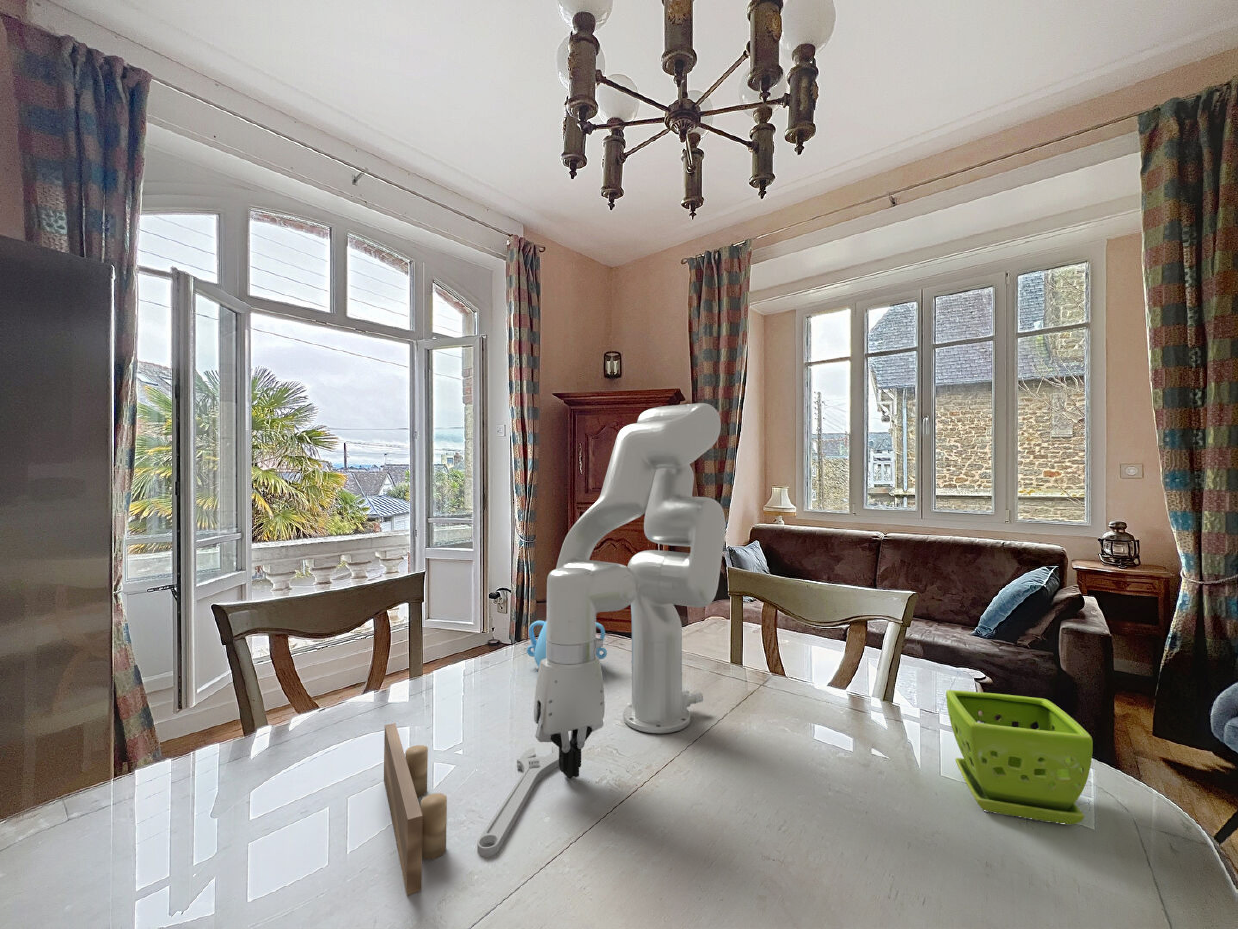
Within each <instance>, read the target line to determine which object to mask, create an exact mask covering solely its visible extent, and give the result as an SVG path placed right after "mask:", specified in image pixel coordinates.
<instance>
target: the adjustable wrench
mask: <svg viewBox="0 0 1238 929" xmlns="http://www.w3.org/2000/svg"><path fill="white" fill-rule="evenodd" d="M516 767H517V770H521V772H522V774H521V776H520V777H519V779H518V780H517V782H516V783H515V785H514V786H513V788H511V791H510V792H509V794H508V795H507V796H506V798H505V799H504V801H503V803H502V804H501V805H500V807H499V809H498V810H497V811H496V813H495V814H494V816H493V818H492V819H491V820H490V822H489V823H488V825H487V826H486V828H485V829H484V831H483V832H482V833H481V835H480V837H479V839H478V840H477V842H476V843H477V844H476V845H477V847H476V848H477V852H476V853H477V854H478V855H479V856H480V857H484V858H485V857H487V858H488V857H492V856H494V855H495V854H497V853H498V852H499V850H500V849H501V847H502V845H503V843H504V842H505V841H506V838H507V836H508V835H509V833H510V831H511V829H512V828H513V826H514V824H515V822H516V821H517V819H518V817H519V815H520V813H521V811H522V810H523V808H524V806H525V804H526V802H527V801H528V799H529V797H530V795H531V793H532V792H533V790H534V788H535V787H536V785H537V783H538V782H539V781H540V779H542V778H543V777H544V776H546V775H547V774H549V773H551V771H554V770H555V769H557V768H559V747H558V746H557V745H551V753H549V754H547V755H543V756H537V754H536V748H535V747H531V748H528V749H527V750H525V751H524V752H523V753H522V754H521V756H520V757H519V758H517V759H516ZM487 845H491V846H487Z"/></svg>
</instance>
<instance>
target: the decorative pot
mask: <svg viewBox="0 0 1238 929" xmlns="http://www.w3.org/2000/svg"><path fill="white" fill-rule="evenodd" d="M546 624H547V619H546V620H545V621H544V620H536V621H534V622H532V623H531V624H530V626H529V627H528V636H529V637H528V638H529V640H530V642H531V645H528V646H527V648H526V653H527V655H528V656H530V657H532V658H534V660H535V661H534V662H535V663H536V665H537V667H538V668H539V666H540V662H541V660H542V659H546ZM536 626H542V627H541V630H540V632H539V634H538V636H537V640H536V635H535V634H534V628H535V627H536ZM597 628H598V629H599V630H600V636H599V639H600V638H601V639H602V640H603V642H605V641H604V640H605V637H606V629H605V627H604V626H603V624H601V623H599V622H597V621H596V629H597ZM532 649H533V651H532ZM600 652H603V653H602V654H601V653H600ZM607 654H608V651H607V649H606V648H605V647H599V648H598V649H597V654H596V656H598V657H599V660H603V659H605V658H606V657H607V656H608V655H607Z"/></svg>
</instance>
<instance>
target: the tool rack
mask: <svg viewBox="0 0 1238 929" xmlns="http://www.w3.org/2000/svg"><path fill="white" fill-rule="evenodd" d="M397 727H398V726H397V723H396V722H393V723H390V724H389V723H388V724H384V736H383V737H384V746H383V753H384V754H383V782H384V787H385V792H386V797H387V802H388V807H389V813H390V818H391V821H392V827H393V828H392V829H393V833H394V837H395V843H396V848H397V853H398V858H399V862H400V864H399V865H400V869H401V873H402V878H403V883H404V889H405V894H406V896H409V895H412V894H415V893H419V892H421V891H422V880H423V879H422V875H423V874H422V872H423V870H422V868H423V867H422V866H423V865H422V864H423V863H422V862H423V859H424V860H435V859H438V858H440V857H442V856H443V855H444V854H445V853H446V851H447V824H448V823H447V818H448V817H447V816H448V815H447V814H448V813H447V812H448V811H447V809H448V806H447V805H448V798H447V794H444V793H440V792H435V793H430V794H428V795H426V794H427V792H428V763H429V762H428V755H429V754H428V752H429V751H428V750H429V749H428V748H429V747H428V746H427V745H423V744H418V745H413V746H412V745H411V747H409V748H407V749H406V750H405V751H404V749H403V748H404V747H403V744H402V740H401V738H400V737H401V736H400V734H399V731H398V728H397ZM425 795H426V796H425ZM421 797H423V798H422V799H421V801H420V802H419V799H420V798H421Z"/></svg>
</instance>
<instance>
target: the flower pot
mask: <svg viewBox="0 0 1238 929" xmlns="http://www.w3.org/2000/svg"><path fill="white" fill-rule="evenodd" d="M945 696H946V707H947V713H948V717H949V721H950V725H951V730H952V731H953V736H954V738H955V740H956V743H957V745H958V746H957V747H958V748H959V751H960V754H961V755H962V757H963V758H961V757H955V763H956V766H957V768H958V770H959V771H960V774H961V775H962V777H963V779H964V781H965V784H966V785H967V787H968V789H969V790H970V792H971V794H972V796H973V797H974V799H975V801H976V803H977V805H978V806H979V807H980V808H982V809H983V810H986V811H990V812H989V813H992V812H996V813H995V814H997V813H1001V814H1000V815H1003V814H1006V815H1005V816H1009V815H1012V816H1011V817H1014V816H1021V817H1026V818H1032V819H1037V820H1036V821H1038V820H1043V821H1042V822H1044V821H1050V822H1058V823H1065V824H1072V825H1076V824H1078V823H1080V822H1082V821H1083V820H1084V819H1085V815H1084V814H1083V812H1082V811H1081V809H1080V808H1079V807H1078V806H1077V804H1076V802H1077V801H1078V800H1079V798H1080V796H1081V794H1082V793H1083V791H1084V789H1085V787H1086V784H1087V781H1088V778H1089V775H1090V769H1091V767H1092V766H1091V765H1092V760H1093V752H1094V751H1093V750H1094V749H1093V745H1094V744H1093V738H1092V736H1091V734H1089V732H1088V731H1086V729H1084V728H1083V726H1081V724H1079V723H1078V722H1077V720H1075V719H1074V718H1073V717H1072V716H1070V715H1069V714H1068V713H1067V712H1065V711H1064V710H1062V709H1061V708H1060V707H1059V706H1057V705H1056V704H1055V703H1053V702H1052V701H1050V700H1048V699H1046V698H1042V697H1031V696H1030V697H1029V696H1023V695H1013V694H1012V695H1011V694H1002V693H992V692H983V691H982V692H978V691H971V690H969V691H968V690H953V689H948V690H946V693H945ZM979 712H982V713H981V715H980V714H979ZM997 716H1000V718H999V719H998V720H997V719H996V717H997ZM978 721H980V722H978ZM1015 722H1016V723H1017V722H1018V723H1017V724H1018V727H1017V726H1016V727H1014V726H1013V723H1015ZM1034 723H1037V725H1038V728H1036V729H1034V728H1032V725H1033V724H1034ZM982 809H981V810H982ZM983 810H982V811H983ZM1026 818H1025V819H1026ZM1032 819H1031V820H1032ZM1050 822H1049V823H1050ZM1072 825H1071V826H1072Z"/></svg>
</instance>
